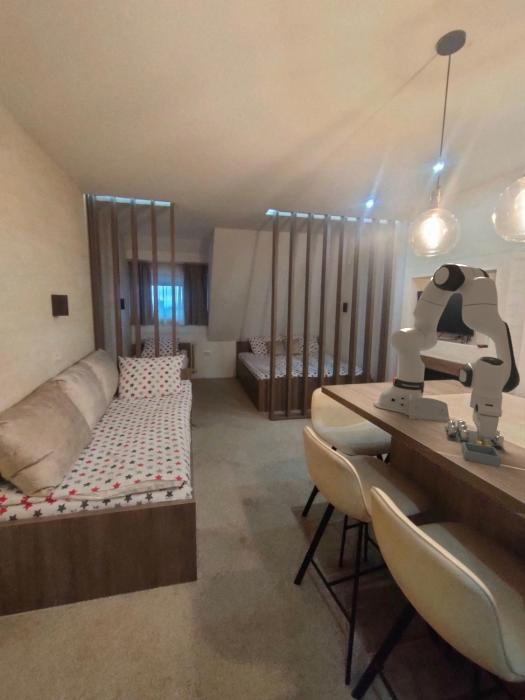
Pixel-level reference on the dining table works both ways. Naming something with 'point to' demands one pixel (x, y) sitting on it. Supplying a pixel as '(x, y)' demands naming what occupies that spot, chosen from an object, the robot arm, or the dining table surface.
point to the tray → (480, 454)
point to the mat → (471, 438)
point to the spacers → (465, 433)
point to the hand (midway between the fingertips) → (480, 441)
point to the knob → (483, 443)
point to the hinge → (428, 409)
